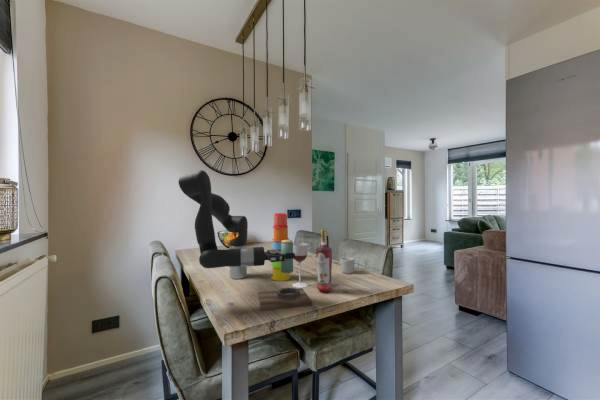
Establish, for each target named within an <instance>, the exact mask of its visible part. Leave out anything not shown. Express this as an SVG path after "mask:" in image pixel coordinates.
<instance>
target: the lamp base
mask: <svg viewBox="0 0 600 400" xmlns="http://www.w3.org/2000/svg"><path fill="white" fill-rule="evenodd" d="M257 298H258V302H259V306H260V311H267V310H270V311H271V310H278V309H286V308H287V309H288V308H297V307H305V306H306V307H307V306H313V301H312V299H311V298H310V297H309V295H308V294H307V293H306V291H305V290H304V287H303V288H297V287H282V288H280V289H278V290H269V291H258V292H257Z"/></svg>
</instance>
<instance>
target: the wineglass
mask: <svg viewBox="0 0 600 400" xmlns="http://www.w3.org/2000/svg"><path fill="white" fill-rule="evenodd" d="M308 250H309V244H308V243H307V242H293V253H295V258H294V259H293V261H294V260H295V261H296V262H298V282H296V283H295V282H294V283H292V285H291V286H292V288H296V289H299V288H303V289H304V288H306V287H308V283H305V282H302V281H301V263H302V262H304V261H305V260H306V259H307V256H308Z"/></svg>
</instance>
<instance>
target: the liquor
mask: <svg viewBox="0 0 600 400" xmlns="http://www.w3.org/2000/svg"><path fill="white" fill-rule="evenodd" d="M320 234H321V238H320V239H321V240H320V246H318V247H317V248H316V249H315V255H316V257H315V258H316V269H317V271H316V273H317V288H316V289H317V290H318V291H319V292H321V293H323V294H324V293H329V292H330V291H332V289H333V287H332V268H333V267H332V265H333V249H332V248H331V247H330V246H328V240H327V239H328V238H327V236H328V235H327V234H328V230H327V228H325V229H324V228H321V229H320Z"/></svg>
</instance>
